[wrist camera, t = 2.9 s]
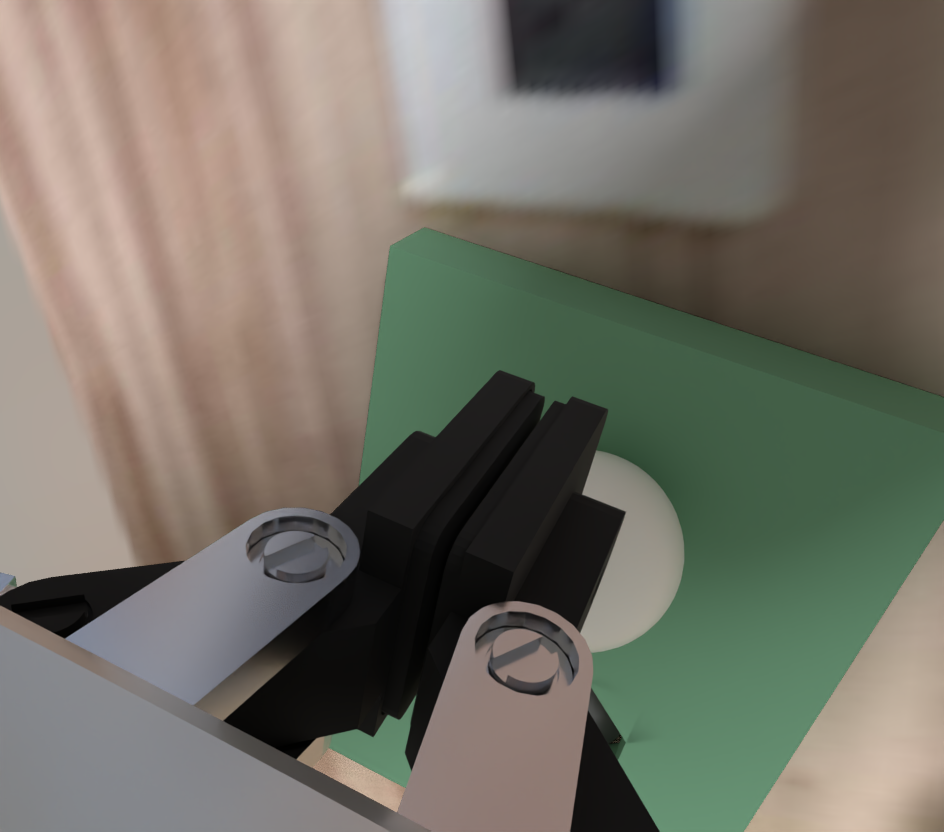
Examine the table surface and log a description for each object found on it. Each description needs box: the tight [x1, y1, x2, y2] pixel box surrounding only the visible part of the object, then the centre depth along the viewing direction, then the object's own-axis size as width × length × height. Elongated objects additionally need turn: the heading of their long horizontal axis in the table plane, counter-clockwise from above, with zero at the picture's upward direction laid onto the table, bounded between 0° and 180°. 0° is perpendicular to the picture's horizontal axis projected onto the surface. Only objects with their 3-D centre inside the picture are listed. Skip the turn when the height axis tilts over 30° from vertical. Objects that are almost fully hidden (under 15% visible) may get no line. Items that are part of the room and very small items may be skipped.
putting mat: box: [329, 227, 944, 832], centre depth 31 cm, size 26×18×2 cm
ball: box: [580, 450, 684, 653], centre depth 24 cm, size 6×6×6 cm
